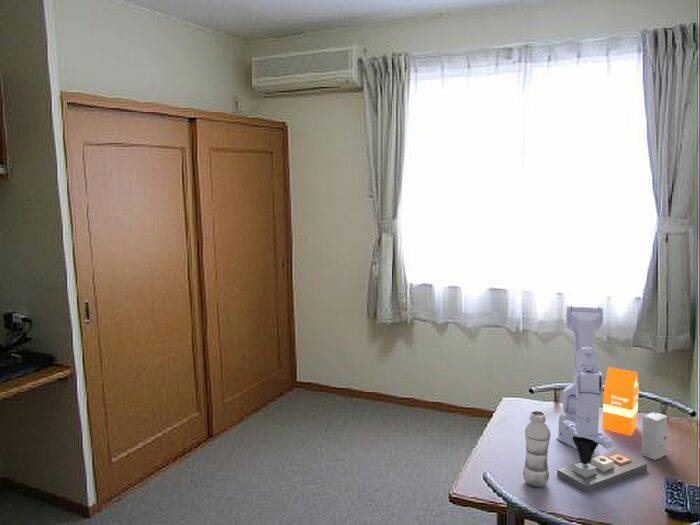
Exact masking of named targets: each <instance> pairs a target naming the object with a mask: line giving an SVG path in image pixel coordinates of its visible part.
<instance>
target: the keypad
mask: <svg viewBox="0 0 700 525" xmlns="http://www.w3.org/2000/svg"><path fill="white" fill-rule="evenodd" d="M616 454H619V455H622V456H624V457H626V458H628V459H630V463H628V464H625V465H622V466H620V465H618V464H616V463H614V468H612V469H609V470H606V471H602V470H600V469H598V468H596V474H595V475H593V476H590V477H587V478H585V477H583V476H581V475H579V474H577V473H576V472H574V464H577V463H580V462H581V461H580V460H579V461H576V462H575V463H573V464H569V465H566V466H563V467H560V468H558V469H557V470H556V471H557V472H556V476H557V477H558V478H559V479H561V480H563V481H565V482H567V483H568V484H569V485H572V486H573V487H575V488H576V489H579V490H580V491H582V492H584V493H586V494H588V493H591V492H593V491H596V490H599V489H602V488H605V487H607V486H609V485H612V484H614V483H617V482H620V481H623V480H626V479H627V478H630V477H632V476H635V475H638V474H641V473H643V472H647V467H648V463H646V462H644V461H642V460H640V459H637V458H636V457H633V456H632V455H629V454H627V453H625V452H623V451H620V449H619V450H618V449H616V448H615V449H613V450H610V451H608V452H603V453H602V454H599V455H595V456H592V457H591V460H590V463H589V464H591V465H592V458H595V457H598V456H601V455H602V456H604V457H606V458H608V459H609V457H611V456H614V455H616Z"/></svg>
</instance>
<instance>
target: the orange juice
mask: <svg viewBox="0 0 700 525" xmlns="http://www.w3.org/2000/svg"><path fill="white" fill-rule="evenodd" d="M605 377H606V378H605V382H604V386H603V404H602V427H601V429H602V430H606V431H611V432H614V433H619V434H622V435H626V436H629V437H630V436H632V435H633V434H634V432H635V431H636V429H637V428H638V426H637V425H638V410H639V409H638V408H639V393H640V392H639V390H640V385H639V379H638V371H632V370H628V369H621V368H616V367H610V366H608V367H607V373H606V376H605Z"/></svg>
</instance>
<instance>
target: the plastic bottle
mask: <svg viewBox="0 0 700 525" xmlns="http://www.w3.org/2000/svg"><path fill="white" fill-rule="evenodd" d="M529 420H530V422H529V423H527V425H526V427H525V429H524V438H525V439H524V440H525V453H526V454H525V461H524V466H523V470H522V476H523V480H524V481H525V483H527V484H528V485H530V486H532V487H539V488H540V487H545V486H546V485H547V484H548V482H549V479H550V474H549V468H548V452H549V444H550V440H551V439H550V438H551V431H550V428H549V427H548V426H547V424H546V420H547V419H546V413H545V412H543V411H540V410H539V411H538V410H533V411H531V412H530V416H529Z"/></svg>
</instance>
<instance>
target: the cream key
mask: <svg viewBox="0 0 700 525" xmlns="http://www.w3.org/2000/svg"><path fill="white" fill-rule="evenodd" d="M600 455H601V454H600ZM597 456H598V455H597ZM594 457H595V456H594ZM591 458H592V457H591ZM592 465H593V466H595V467H596V468H598V469H600V470H602V471H606V470H609V469H612V468H614V461H613V460H611V459H608V458H606V457H604V456H602V455H601V456H598V457H595V458H592Z"/></svg>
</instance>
